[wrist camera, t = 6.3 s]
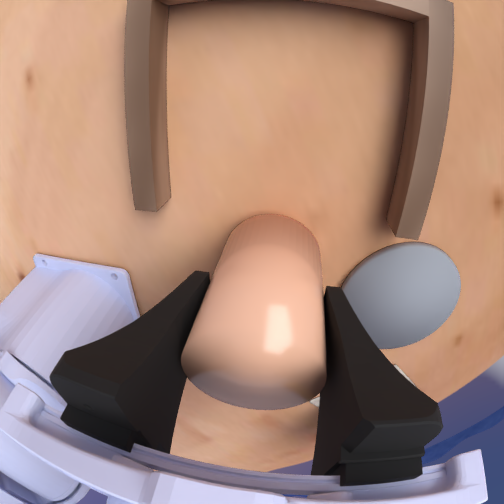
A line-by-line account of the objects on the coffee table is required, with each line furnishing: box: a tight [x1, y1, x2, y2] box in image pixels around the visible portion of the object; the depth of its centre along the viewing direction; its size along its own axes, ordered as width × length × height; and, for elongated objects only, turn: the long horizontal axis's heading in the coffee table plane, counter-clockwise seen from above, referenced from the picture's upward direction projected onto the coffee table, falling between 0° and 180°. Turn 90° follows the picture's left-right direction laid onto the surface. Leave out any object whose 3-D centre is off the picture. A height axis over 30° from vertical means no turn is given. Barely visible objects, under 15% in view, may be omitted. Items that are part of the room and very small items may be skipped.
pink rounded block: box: [181, 214, 327, 410], centre depth 12 cm, size 7×5×7 cm
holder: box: [124, 0, 454, 240], centre depth 10 cm, size 13×11×2 cm
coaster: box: [341, 242, 461, 349], centre depth 16 cm, size 8×8×1 cm
